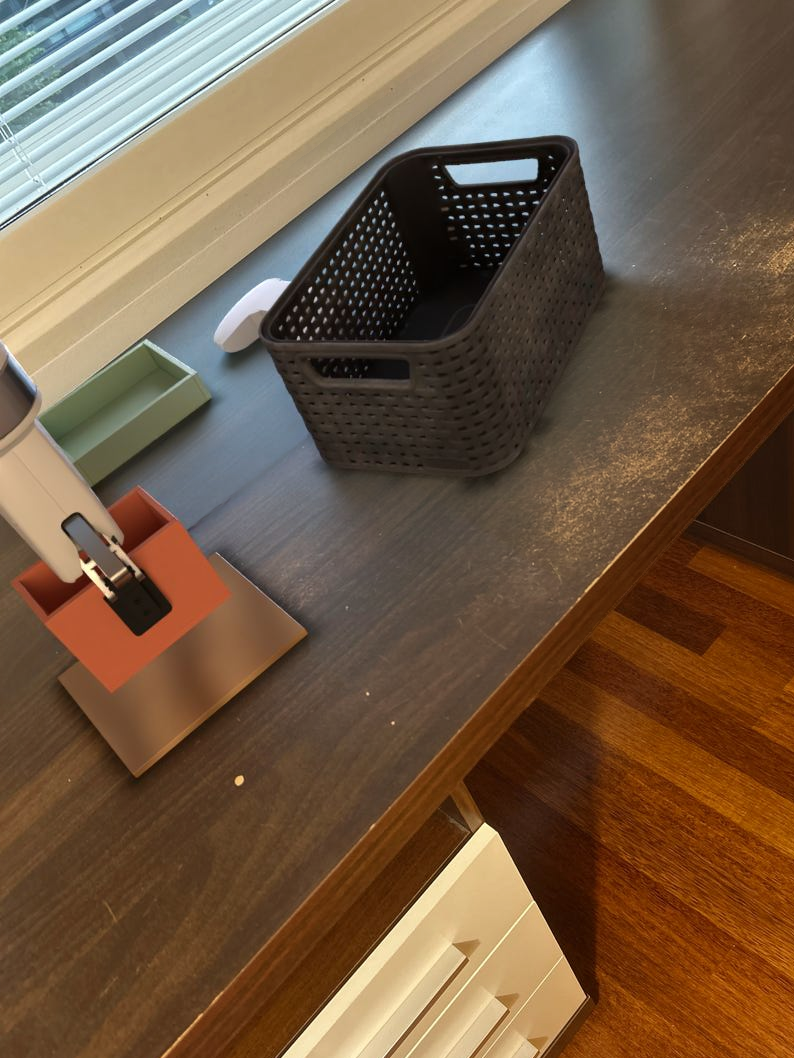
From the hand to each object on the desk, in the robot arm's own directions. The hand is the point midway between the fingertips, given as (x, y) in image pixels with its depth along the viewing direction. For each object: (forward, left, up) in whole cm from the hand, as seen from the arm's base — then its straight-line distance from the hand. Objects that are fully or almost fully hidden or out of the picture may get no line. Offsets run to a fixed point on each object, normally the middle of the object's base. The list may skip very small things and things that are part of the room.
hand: (131, 597), depth 73 cm
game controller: (+30, +27, -8) cm, 41 cm away
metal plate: (0, 0, -7) cm, 7 cm away
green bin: (+12, +32, -7) cm, 35 cm away
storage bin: (+36, +6, -8) cm, 37 cm away
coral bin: (0, 0, -3) cm, 3 cm away
